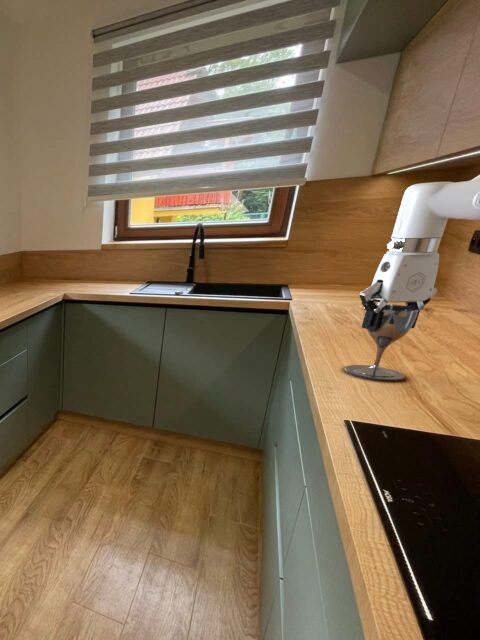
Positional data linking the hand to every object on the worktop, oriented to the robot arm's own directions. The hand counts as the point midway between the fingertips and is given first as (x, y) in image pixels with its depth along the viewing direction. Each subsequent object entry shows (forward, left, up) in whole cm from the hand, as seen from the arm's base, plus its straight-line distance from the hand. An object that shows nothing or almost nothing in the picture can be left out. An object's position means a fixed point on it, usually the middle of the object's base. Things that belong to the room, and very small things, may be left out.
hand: (387, 327), depth 96 cm
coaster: (0, 0, -11) cm, 11 cm away
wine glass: (0, 0, -11) cm, 11 cm away
